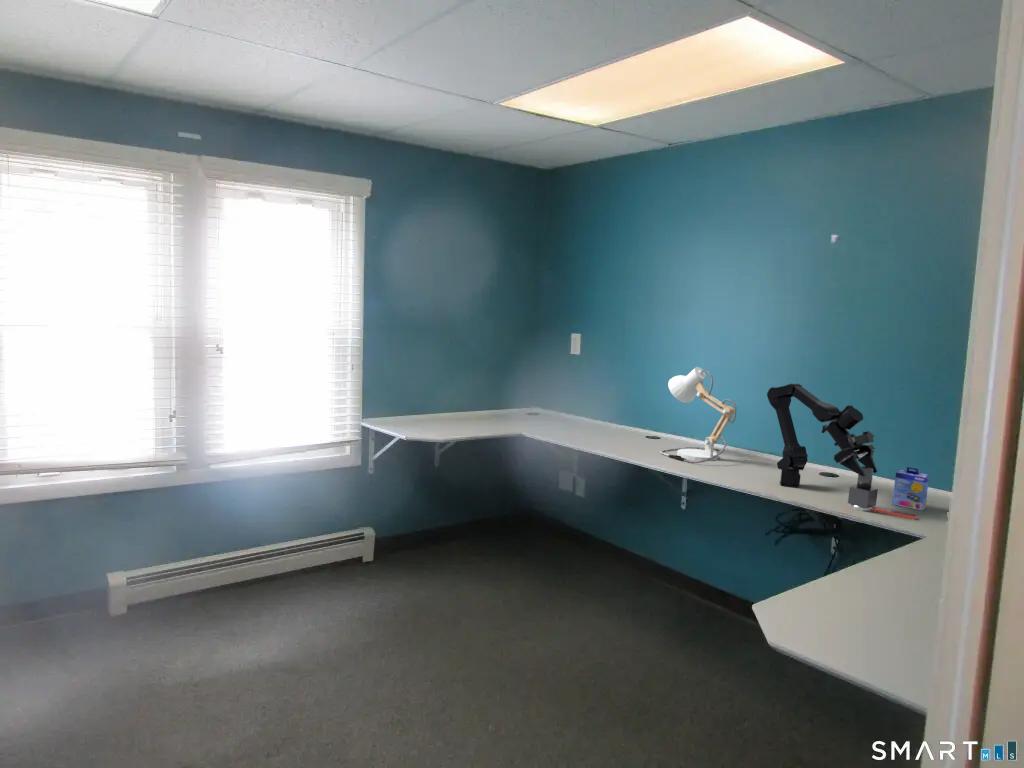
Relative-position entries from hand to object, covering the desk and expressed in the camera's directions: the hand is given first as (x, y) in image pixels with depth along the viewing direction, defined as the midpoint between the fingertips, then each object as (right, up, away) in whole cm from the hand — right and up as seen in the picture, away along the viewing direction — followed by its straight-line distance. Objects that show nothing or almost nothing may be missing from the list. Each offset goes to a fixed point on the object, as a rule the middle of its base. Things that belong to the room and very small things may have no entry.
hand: (869, 473), depth 237 cm
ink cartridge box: (+18, -13, +8) cm, 24 cm away
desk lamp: (-39, -2, +75) cm, 84 cm away
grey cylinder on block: (-2, -11, +2) cm, 11 cm away
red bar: (+3, -13, -2) cm, 14 cm away
